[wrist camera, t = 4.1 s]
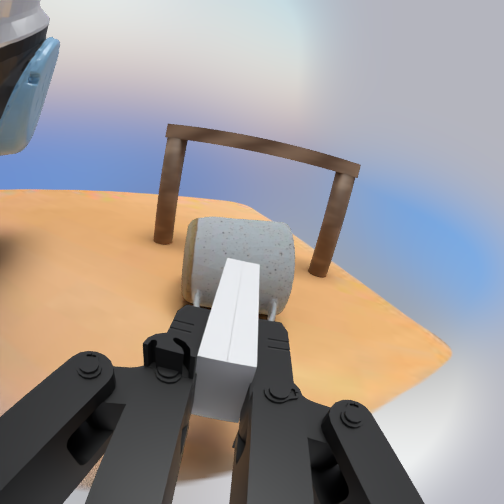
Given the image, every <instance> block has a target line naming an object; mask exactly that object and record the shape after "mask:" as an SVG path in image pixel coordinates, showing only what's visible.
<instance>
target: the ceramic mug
mask: <svg viewBox="0 0 504 504" xmlns="http://www.w3.org/2000/svg"><path fill="white" fill-rule="evenodd" d="M227 258H231V259H236V260H240V261H245V262H250V263H255V264H260V273H259V312H258V313H259V314H268V318H267V320H269V321H274V320H275V316H276V315H277V314H279V313H281V312H282V310H283V309H284V308H285V305H286V303H287V301H288V298H289V296H290V293H291V289H292V283H293V279H294V268H295V248H294V240H293V236H292V232H291V230H290V228H289V226H288V225H287V224H285V223H283V222H271V221H259V220H246V219H232V218H222V217H205V218H197V219H195V220H192V221H191V223H190V224H189V226H188V231H187V237H186V243H185V250H184V259H183V269H182V295H183V297H184V299H185V300H186V301H187V302H190V303H192V304H193V306H195V307H200V306H203V307H209V308H212V305H213V302H214V299H215V296H216V292H217V289H218V286H219V283H220V280H221V277H222V273H223V270H224V267H225V264H226V261H227Z"/></svg>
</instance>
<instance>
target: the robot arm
mask: <svg viewBox="0 0 504 504" xmlns="http://www.w3.org/2000/svg"><path fill="white" fill-rule="evenodd" d="M39 3H40V0H0V156H1V155H8V154H15V153H18V152H20V151H22V150H23V149H24V148H25V147H26V146H27V145H28V143H29V142H30V140H31V138H32V136H33V134H34V131H35V128H36V126H37V123H38V120H39V117H40V113H41V110H42V107H43V104H44V101H45V98H46V94H47V91H48V88H49V84H50V81H51V78H52V75H53V72H54V68H55V65H56V61H57V57H58V54H59V47H60V42H59V40H57V39H54V38H53V37H49V38H47V39H46V33H47V29H48V25H49V20H50V18H49V17H48V16H47V14H46V13H45V12H44V11H43V10H42V9H41V7H40V4H39ZM259 273H260V264H255V263H250V262H245V261H240V260H236V259H231V258H227V261H226V264H225V267H224V270H223V273H222V277H221V280H220V283H219V286H218V289H217V292H216V296H215V299H214V302H213V305H212V309H211V310H209V309H204V308H200V307H195V306H191V305H185V306H184V307H183V308H181V309H180V310H178V311H177V313H176V315H175V317H174V320H173V322H172V324H171V326H170V328H169V330H168V332H167V333H160V334H155V335H153V336H151V337H148V338H147V339H146V340H145V341H144V343H143V356H144V366H140V367H132V368H128V367H114V366H113V365H112V363H111V361H110V360H109V359H108V358H107V357H106V356H105V355H103V354H100V353H98V352H92V351H86V352H80V353H78V354H76V355H75V356H73V357H71V358H70V359H69V360H68V361H67V362H65V363H64V364H63V365H62V366H60V367H59V368H58V369H57V370H55V371H54V372H53V373H52V374H51V375H49V376H48V377H47V378H46V379H45V380H43V381H42V382H41V383H40V384H38V385H37V386H36V387H35V388H34V389H33V390H31V391H30V392H29V393H28V394H27V395H25V396H24V397H23V398H22V399H21V400H20V401H18V402H17V403H16V404H15V405H14V406H13V407H11V408H10V409H9V410H8V411H7V412H6V413H4V414H3V415H2V416H1V417H0V504H63V503H64V501H65V500H66V499H67V498H68V497H69V495H70V494H71V493H72V492H73V491H74V489H75V488H76V487H77V486H78V485H79V483H80V482H81V481H82V480H83V479H84V477H85V476H86V475H87V474H88V473H89V471H90V470H91V469H92V468H93V467H94V465H95V464H96V463H97V462H98V460H99V459H100V458H101V457H102V456H103V454H104V453H105V454H104V456H103V459H102V461H101V464H100V466H99V469H98V471H97V474H96V476H95V479H94V481H93V484H92V486H91V489H90V492H89V495H88V497H87V500H86V502H85V504H172V500H173V495H174V490H175V486H176V481H177V477H178V472H179V468H180V463H181V459H182V454H183V450H184V446H185V441H186V437H187V433H188V429H189V419H190V415H191V414H194V415H198V416H203V417H208V418H213V419H218V420H224V421H230V422H236V423H238V421H239V419H240V423H239V430H238V433H237V435H236V438H235V441H234V443H233V446H232V448H235V452H234V462H233V472H232V482H231V493H230V503H229V504H424V502H423V500H422V498H421V497H420V495H419V493H418V492H417V490H416V488H415V486H414V485H413V483H412V481H411V479H410V478H409V476H408V474H407V473H406V471H405V469H404V468H403V466H402V464H401V463H400V461H399V459H398V457H397V456H396V454H395V452H394V451H393V449H392V447H391V446H390V444H389V442H388V441H387V439H386V437H385V436H384V434H383V432H382V431H381V429H380V427H379V426H378V424H377V422H376V421H375V419H374V417H373V416H372V414H371V413H370V411H369V410H368V409H367V408H366V407H365V406H363V405H362V404H360V403H359V402H355V401H352V400H341V401H339V402H336V403H335V404H334V405H333V406H332V407H331V408H330V407H327V406H324V405H321V404H318V403H315V402H313V401H310V400H308V399H307V398H305V397H304V396H302V394H301V391H300V389H299V388H298V387H297V386H296V385H295V384H294V381H293V373H292V364H291V356H290V351H289V350H290V347H289V339H288V332H287V330H286V329H285V327H284V326H283V325H282V323H280V322H274V321H269V320H263V319H258V312H259Z"/></svg>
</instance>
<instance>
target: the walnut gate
mask: <svg viewBox="0 0 504 504" xmlns="http://www.w3.org/2000/svg"><path fill="white" fill-rule="evenodd" d="M166 137H168V138H167V144H166V149H165V155H164V162H163V168H162V174H161V181H160V188H159V196H158V204H157V212H156V222H155V232H154V241H155V242H156V243H159V244H170V243H172V239H173V230H174V222H175V214H176V207H177V200H178V192H179V186H180V180H181V173H182V167H183V162H184V156H185V151H186V145H187V141H188V140H191V141H198V142H205V143H211V144H218V145H223V146H229V147H234V148H240V149H245V150H251V151H255V152H260V153H265V154H269V155H274V156H278V157H283V158H287V159H291V160H295V161H299V162H303V163H307V164H311V165H314V166H318V167H322V168H326V169H329V170H333V171H336V174H335V177H334V181H333V185H332V189H331V193H330V197H329V201H328V205H327V208H326V212H325V215H324V219H323V223H322V226H321V230H320V233H319V237H318V240H317V243H316V247H315V250H314V254H313V257H312V260H311V263H310V267H309V270H308V271H309V272H310V273H311V274H313V275H315V276H318V277H325V276H326V275H327V272H328V269H329V266H330V263H331V260H332V256H333V253H334V250H335V247H336V244H337V240H338V237H339V234H340V231H341V227H342V224H343V221H344V217H345V214H346V210H347V207H348V203H349V199H350V196H351V192H352V188H353V184H354V180H355V177H356V178H358V173H359V170H360V165H359V164H356V163H353V162H350V161H347V160H344V159H341V158H337V157H334V156H331V155H327V154H324V153H320V152H317V151H313V150H309V149H305V148H301V147H297V146H293V145H289V144H285V143H281V142H276V141H272V140H268V139H263V138H258V137H253V136H248V135H243V134H237V133H232V132H225V131H219V130H213V129H207V128H199V127H192V126H184V125H174V124H168V126H167V132H166Z"/></svg>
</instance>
